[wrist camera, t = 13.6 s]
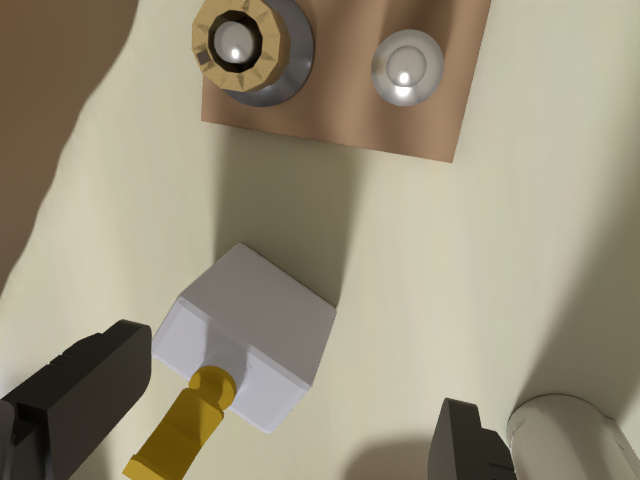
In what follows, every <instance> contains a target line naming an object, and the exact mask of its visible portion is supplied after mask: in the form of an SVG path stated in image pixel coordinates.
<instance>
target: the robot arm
mask: <svg viewBox="0 0 640 480" xmlns="http://www.w3.org/2000/svg"><path fill="white" fill-rule="evenodd" d="M151 350H152V332H151V328H150V326H148V325H145V324H140V323H136V322H132V321H128V320H124V319H122V320H119V321H118V322H116V323H115V324H114V325H113V326H111V327H110V328H109V329H108V330H106V331H105V332H104V333H103V334H101V333H96V334H94V335H91V336H89V337H86V338H84V339H81V340H79V341H77V342H76V343H75V344H73V345H72V346H71V347H69V348H68V349H67V350H65V351H64V352H63V354H62V355H59V356H57V357H56V358H55V359H53V360H52V361H51V362H50V364H49V365H45V366H44V367H43V368H41V369H40V370H39V371H37V372H36V373H35V374H33V375H32V376H31V377H29V378H28V379H27V380H25V381H24V382H23V383H22V384H20V385H19V386H18V387H16V388H15V389H14V390H12V391H11V392H10V393H8V394H7V395H6V396H4V397H3V398H2V399H0V480H68V479H69V478H70V477H71V476H72V474H73V473H74V472H75V471H76V470H77V469H78V468H79V466H80V465H81V464H82V463H83V462H84V461H85V460H86V459H87V457H88V456H89V455H90V454H91V453H92V452H93V451H94V449H95V448H96V447H97V446H98V445H99V444H100V443H101V442H102V440H103V439H104V438H105V437H106V436H107V435H108V434H109V432H110V431H111V430H112V429H113V428H114V427H115V426H116V425H117V423H118V422H119V421H120V420H121V419H122V418H123V417H124V415H125V414H126V413H127V412H128V411H129V410H130V409H131V408H132V406H133V405H134V404H135V403H136V402H137V401H138V400H139V398H140V397H141V396H142V395H143V394H144V392H145V390H146V388H147V386H148V384H149V381H150V377H151ZM507 440H508V443H509V448H510V450H509V449H508V447H507V446H506V444H505V443H504V442H503V440H502V439H501V437H500V436H499V435H498V433H497V432H496V431H492V430H488V429H484V428H482V427H481V422H480V417H479V412H478V407H477V405H475V404H471V403H467V402H463V401H459V400H454V399H450V398H445V399H444V402H443V404H442V408H441V411H440V415H439V418H438V422H437V425H436V429H435V432H434V436H433V439H432V443H431V447H430V452H429V459H428V480H517V478H518V480H640V460H639V459H638V457H637V455H636V454H635V452H634V450H633V449H632V447H631V445H630V444H629V442H628V441H627V439H626V437H625V436H624V434H623V432H622V431H621V429H620V427H619V426H618V424H617V422H616V421H615V420H612V419H608V418H605V417H604V416H603V415H602V414H601V413H600V412H599V411H598V410H597V409H596V408H595V407H593V406H592V405H591V404H589V403H588V402H586V401H583V400H581V399H579V398H576V397H571V396H567V395H547V396H542V397H538V398H534V399H532V400H530V401H528V402H526V403H524V404H523V405H522V406H520V407H519V408H518V409H517V410H516V411H515V412H514V413H513V414H512V416H511V418H510V420H509V422H508V426H507ZM510 453H511V454H510ZM511 456H512V458H513V462H514V465H513V462H512V458H511ZM514 466H515V470H516V473H514ZM516 474H517V477H516Z"/></svg>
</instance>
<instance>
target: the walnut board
mask: <svg viewBox="0 0 640 480" xmlns="http://www.w3.org/2000/svg"><path fill="white" fill-rule="evenodd" d="M294 1H295V2H296V3H297V4H298V5H299V6H300V7H301V9H302V10H303V11H304V13H305V14H306V16H307V18H308V20H309V22H310V24H311V27H312V30H313V34H314V39H315V59H314V64H313V68H312V71H311V74H310V76H309V78H308V80H307V81H306V83H305V85H304V86H303V87H302V89H301V90H300V91H299V92H298V93H297V94H296V95H295V96H293V97H292V98H291V99H289V100H288V101H286V102H284V103H281V104H278V105H275V106H270V107H252V106H248V105H245V104H242V103H240V102H238V101H236V100H234V99H233V98H231V97H230V96H229V95H227V94H226V93H225V92H224V91H223V90H222V89H221V88H220V87H218V86H217V85H216V84H215V83H214V82H212V81H211V80H210V79H209V78H207V77H206V76H205V75H204V74H203V92H202V115H201V121H205V122H211V123H217V124H223V125H229V126H235V127H241V128H247V129H253V130H258V131H264V132H270V133H276V134H282V135H288V136H294V137H300V138H306V139H312V140H318V141H324V142H330V143H336V144H342V145H348V146H354V147H360V148H366V149H372V150H378V151H384V152H389V153H395V154H401V155H407V156H413V157H419V158H425V159H431V160H437V161H443V162H449V163H452V162H453V158H454V153H455V149H456V145H457V141H458V137H459V133H460V129H461V124H462V120H463V116H464V112H465V108H466V104H467V99H468V95H469V91H470V87H471V83H472V79H473V75H474V70H475V66H476V62H477V58H478V54H479V50H480V46H481V41H482V37H483V33H484V29H485V25H486V21H487V16H488V12H489V8H490V4H491V0H294ZM409 29H411V30H418V31H421V32H424V33H426V34H428V35H429V36H431V37H432V38H433V39H434V40H435V41H436V42H437V44H438V45H439V47H440V49H441V51H442V54H443V58H444V72H443V77H442V80H441V82H440V84H439V86H438V88H437V89H436V91H435V92H434V93H433V94H432V95H431V96H430V97H429V98H428V99H426V100H425V101H423V102H421V103H419V104H416V105H413V106H397V105H394V104H391V103H389V102H387V101H386V100H385V99H383V98H382V97H381V96H380V95H379V93H378V92H377V91H376V89H375V87H374V85H373V82H372V77H371V63H372V59H373V56H374V54H375V52H376V50H377V48H378V47H379V45H380V44H381V43H382V42H383V41H384V40H385V39H386V38H387V37H389V36H390V35H392V34H394V33H396V32H398V31H402V30H409Z"/></svg>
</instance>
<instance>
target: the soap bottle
mask: <svg viewBox="0 0 640 480" xmlns="http://www.w3.org/2000/svg"><path fill="white" fill-rule="evenodd" d="M336 313H337V311H336V309H335V308H334V307H333V306H332V305H331V304H329V303H328V302H326V301H325V300H323V299H322V298H320V297H319V296H318V295H316V294H315V293H313V292H312V291H310V290H309V289H308V288H306V287H305V286H303V285H302V284H300V283H299V282H298V281H296V280H295V279H293V278H292V277H290V276H289V275H288V274H286V273H285V272H283V271H282V270H280V269H279V268H278V267H276V266H275V265H273V264H272V263H270V262H269V261H268V260H266V259H265V258H263V257H262V256H260V255H259V254H258V253H256V252H255V251H253V250H252V249H250V248H249V247H248V246H246V245H244V244H242V243H238V244H236V245H235V246H234V247H232V248H231V249H230V250H229V251H228V252H227V253H226V254H224V255H223V256H222V257H221V258H220V259H219V260H218V261H216V262H215V263H214V264H213V265H212V266H211V267H210V268H209V269H207V270H206V271H205V272H204V273H203V274H202V275H201V276H200V277H198V278H197V279H196V280H195V281H194V282H193V283H192V284H190V285H189V286H188V287H187V288H186V289H185V290H184V291H183V292H181V293H180V294H179V295H178V297H177V299H176V301H175V302H174V304H173V306H172V307H171V309H170V311H169V312H168V314H167V316H166V317H165V319H164V321H163V322H162V324H161V326H160V327H159V329H158V331H157V332H156V334H155V336H154V337H153V339H152V350H151V355H152V356H153V357H154V358H156V359H157V360H159V361H160V362H161V363H163V364H164V365H166V366H167V367H169V368H170V369H172V370H173V371H175V372H176V373H177V374H179V375H180V376H182V377H183V378H185V379H186V380H188V381H189V388H185V389H183V390H182V392H181V393H180V394H179V396H178V397H177V399H176V400H175V402H174V403H173V405H172V406H171V408H170V409H169V411H168V412H167V414H166V415H165V417H164V418H163V419H162V421H161V422H160V424H159V425H158V426H157V428H156V429H155V430H154V432H153V433H152V434H151V436H150V437H149V438H148V440H147V441H146V442H145V444H144V445H143V446H142V448H141V449H140V450H139V452H138V453H137V454H136V455H133V456H132V458H131V459H130V461H129V462H128V464H127V465H126V467H125V469H124V470H123V472H122V473H123V474H124V475H126V476H127V477H128V478H130V479H131V480H182V479H183V477H184V475H185V474H186V472H187V470H188V469H189V467H190V465H191V464H192V462H193V460H194V459H195V457H196V455H197V454H198V452H199V451H200V449H201V448H202V446H203V445H204V443H205V442H206V441H207V439H208V438H209V437H210V436H211V434H212V433H213V432H214V430H215V429H216V428H217V426H218V425H219V424H220V422H221V421H222V420H223V418H224V412H223V411H222V410H225V409H226V408H228V409H230V410H231V411H233V412H234V413H236V414H237V415H239V416H240V417H241V418H243V419H244V420H246V421H247V422H249V423H250V424H252V425H253V426H255V427H256V428H257V429H259V430H260V431H262V432H264V433H267V434H271V433H273V432H274V430H275V429H276V428H277V427H278V426H279V425H280V424H281V422H282V421H283V420H284V419H285V418H286V416H287V415H288V414H289V413H290V412H291V411H292V409H293V408H294V407H295V406H296V405H297V403H298V402H299V401H300V400H301V399H302V398H303V396H304V395H305V394H306V393H307V392H308V390H309V389H310V388H311V387H312V385H313V382H314V379H315V376H316V373H317V370H318V367H319V364H320V361H321V358H322V355H323V352H324V349H325V346H326V343H327V340H328V338H329V335H330V332H331V329H332V326H333V323H334V320H335V317H336Z"/></svg>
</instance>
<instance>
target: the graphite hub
mask: <svg viewBox="0 0 640 480" xmlns="http://www.w3.org/2000/svg"><path fill="white" fill-rule="evenodd" d="M264 1H266V2H267V3H268V4H269V5H270V6H272V7H273V8H274V9H275V10H276V11H277V12H279V13H280V14H281V15H282V16H283V18H284V21H285V24H286V26H287V29H288V31H289V34H290V37H291V48H290V58H289V64H288V66H287V67H286V69H285V70H284V72H283V73H282V75H281V76H280V78H279V79H278V81H277V82H276V83H274V84H272V85H270V86H268V87H266V88H263V89H261V90H259V91H257V92H240V91H234V90H228V89H222V90H223V91H224V92H225V93H226V94H227V95H229V96H230V97H231V98H233V99H234V100H236V101H238V102H240V103H242V104H245V105H248V106H252V107H270V106H275V105H278V104H281V103H284V102H286V101H288V100H289V99H291V98H292V97H293V96H295V95H296V94H297V93H298V92H299V91H300V90H301V89H302V87H303V86H304V85H305V83H306V81H307V80H308V78H309V76H310V74H311V71H312V68H313V64H314V59H315V39H314V34H313V30H312V27H311V24H310V22H309V20H308V18H307V16H306V14H305V13H304V11H303V10H302V9H301V7H300V6H299V5H298V4H297V3H296V2H295V1H294V0H264ZM262 44H263V36H262V34H261V31H260V29H259V26H258V24H257V22H256V21H255V20H254V19H253V18H252V17H249V16H244V17H242V18H240V19H238V20H236V21H234V22H232V21H230V22H226V23H223V24H222V25H221V26H220V27H219V28H218V29H217V31H216V33H215V37H214V45H215V49H216V51H217V53H218V55H219V56H220V57H221V58H222V59H223V60H225V61H227V62H230V64H231V65H232V66H233V67H235V68H236V69H237V70H238V71H239V72H241V73H242V72H245V71H247V70H249V69H251V68H253V67H254V65H255V64H256V62H257V61H258V59H259V58H260V56H261V55H262Z"/></svg>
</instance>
